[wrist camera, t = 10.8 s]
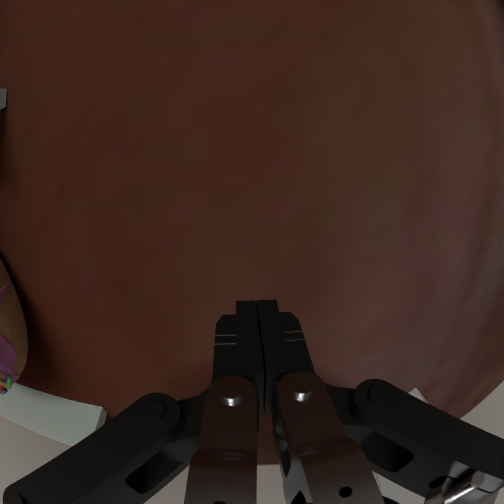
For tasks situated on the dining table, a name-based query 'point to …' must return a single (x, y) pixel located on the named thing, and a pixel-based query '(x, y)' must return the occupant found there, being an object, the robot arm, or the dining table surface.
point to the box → (49, 405)
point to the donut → (11, 333)
